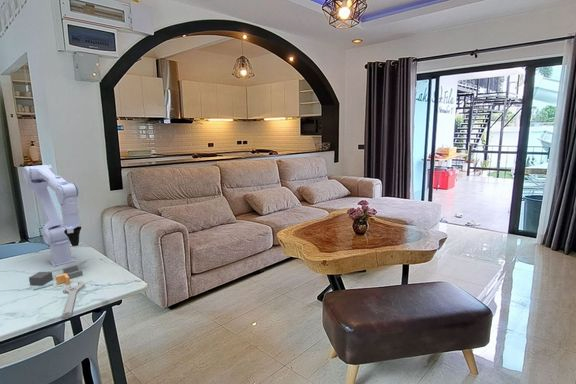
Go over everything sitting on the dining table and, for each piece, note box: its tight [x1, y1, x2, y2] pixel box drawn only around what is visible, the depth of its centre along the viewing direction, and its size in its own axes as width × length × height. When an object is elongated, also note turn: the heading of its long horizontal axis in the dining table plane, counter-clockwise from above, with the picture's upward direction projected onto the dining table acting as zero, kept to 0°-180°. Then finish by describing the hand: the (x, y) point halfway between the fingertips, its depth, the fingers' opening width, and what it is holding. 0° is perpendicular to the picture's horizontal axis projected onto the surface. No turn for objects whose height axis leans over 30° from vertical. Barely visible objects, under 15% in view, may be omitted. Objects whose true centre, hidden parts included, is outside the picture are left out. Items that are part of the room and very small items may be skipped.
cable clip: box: [62, 264, 83, 280], centre depth 134 cm, size 8×5×2 cm, turn 44°
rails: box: [28, 280, 54, 292], centre depth 127 cm, size 11×6×1 cm, turn 44°
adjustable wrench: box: [61, 280, 86, 320], centre depth 114 cm, size 25×6×2 cm, turn 22°
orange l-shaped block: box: [55, 273, 71, 286], centre depth 126 cm, size 5×4×3 cm
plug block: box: [28, 271, 54, 287], centre depth 127 cm, size 5×5×4 cm
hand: (75, 245), depth 138 cm, fingers closed
